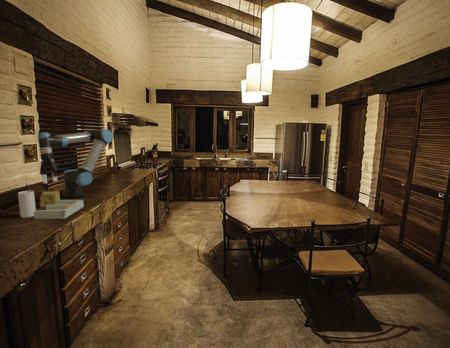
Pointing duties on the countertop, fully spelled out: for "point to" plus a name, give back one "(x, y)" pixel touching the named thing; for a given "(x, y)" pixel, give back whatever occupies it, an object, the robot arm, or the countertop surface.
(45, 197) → the cheese
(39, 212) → the tray
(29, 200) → the cup
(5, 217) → the countertop surface
